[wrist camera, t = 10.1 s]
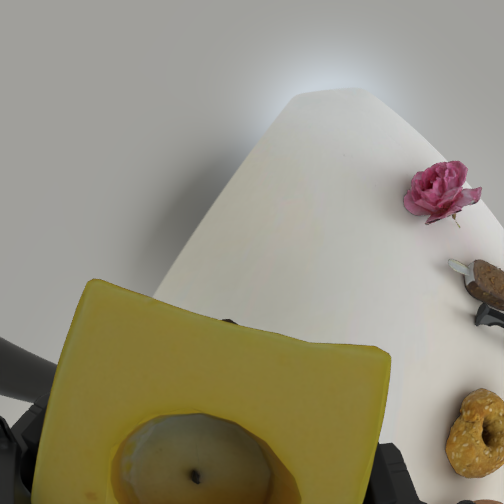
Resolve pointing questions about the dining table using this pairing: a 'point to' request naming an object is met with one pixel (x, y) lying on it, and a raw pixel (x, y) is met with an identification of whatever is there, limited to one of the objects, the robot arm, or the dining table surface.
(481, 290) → the ice cream bar
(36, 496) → the candle
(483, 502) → the egg
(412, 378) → the dining table surface
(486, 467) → the bagel
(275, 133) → the dining table surface
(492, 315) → the knife
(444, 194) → the flower
